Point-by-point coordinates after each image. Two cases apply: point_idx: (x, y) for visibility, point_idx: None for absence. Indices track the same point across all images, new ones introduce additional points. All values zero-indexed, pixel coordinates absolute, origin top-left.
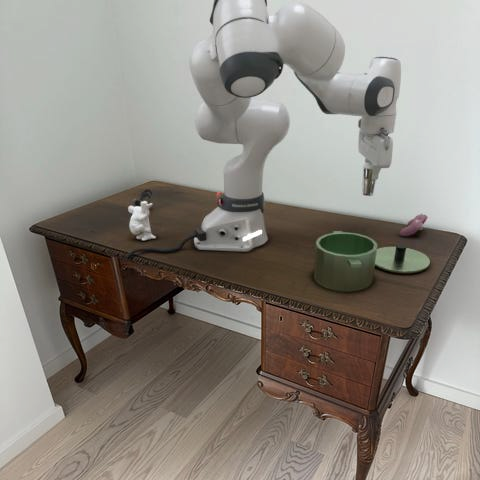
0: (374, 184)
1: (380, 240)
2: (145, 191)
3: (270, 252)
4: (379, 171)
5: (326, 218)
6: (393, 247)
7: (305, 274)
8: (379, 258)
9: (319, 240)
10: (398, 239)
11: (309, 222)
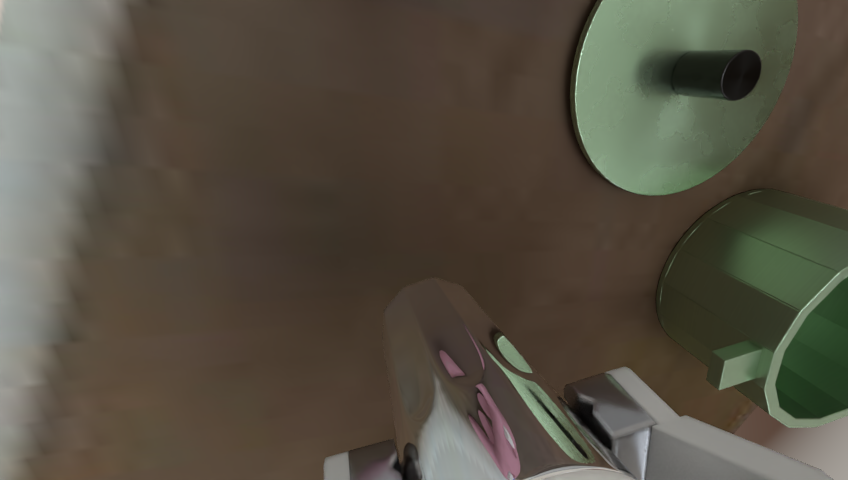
0: (506, 337)
1: (445, 122)
2: None
3: None
4: (729, 435)
5: (161, 376)
6: (584, 80)
7: (686, 365)
8: (674, 158)
9: (807, 421)
10: (430, 17)
11: (243, 431)
